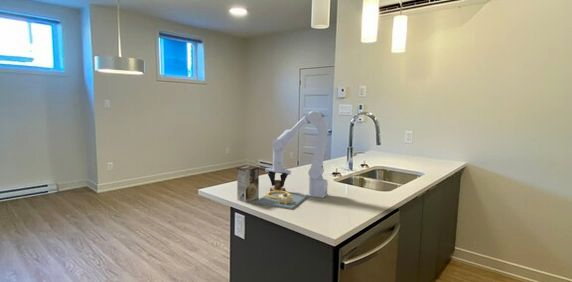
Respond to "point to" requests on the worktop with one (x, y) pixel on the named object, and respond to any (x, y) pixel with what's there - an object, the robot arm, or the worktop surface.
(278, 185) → the planet gear
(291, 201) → the carrier plate
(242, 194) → the coffee box
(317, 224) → the worktop surface
